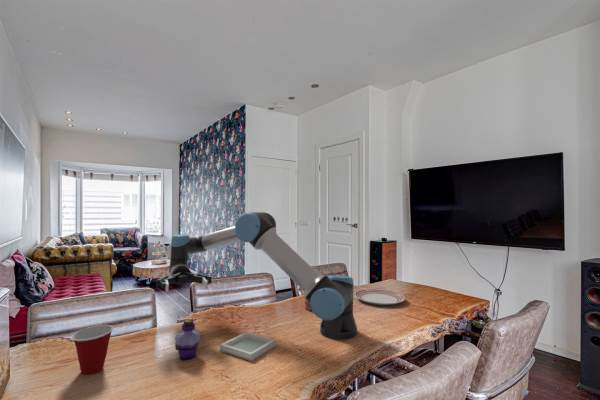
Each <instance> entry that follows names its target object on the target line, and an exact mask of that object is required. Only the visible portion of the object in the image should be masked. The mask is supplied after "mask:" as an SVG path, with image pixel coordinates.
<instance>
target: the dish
mask: <svg viewBox="0 0 600 400" xmlns="http://www.w3.org/2000/svg"><path fill="white" fill-rule="evenodd" d="M276 343H277V341H276V339H274V338H270V337H266V336H264V335H258V334H255V333H251V332H248V331H245V332H242V333H241V334H239V335H238V336H235V337H233V338H231V339H229V340H227V341H224V342H223V343H220V344H219V352H222V353H225V354H229V355H231V356H235V357H238V358H240V359H243V360H247V361H249V362H253V361H254V360H256V359H257V358H258V357H260V356H262V355H264V354H266V352H268V351H270V350H272V349H273V348H275V347H276V346H277V345H276Z"/></svg>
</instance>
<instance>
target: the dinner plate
mask: <svg viewBox="0 0 600 400" xmlns="http://www.w3.org/2000/svg"><path fill="white" fill-rule="evenodd" d="M354 296H355V297H356V298H357V299H358V300H360V301H363V302H365V303H366V304H370V305H375V306H392V305H398V304H400V303H402V302H404V301H405V300H406V298H405V296H404V295H403V294H402V293H399V292H395V291H393V290H388V289H380V288H379V289H378V288H367V289H360V290H357V291H355V292H354Z"/></svg>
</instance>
